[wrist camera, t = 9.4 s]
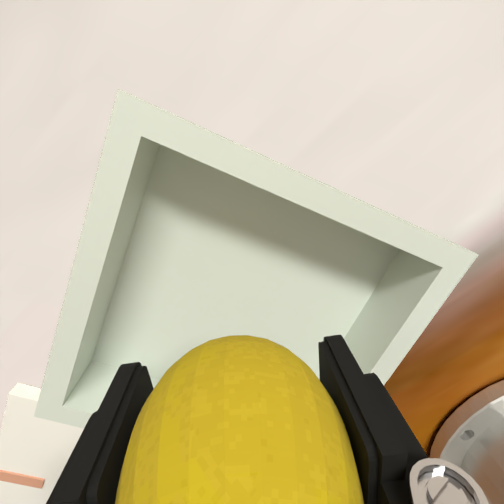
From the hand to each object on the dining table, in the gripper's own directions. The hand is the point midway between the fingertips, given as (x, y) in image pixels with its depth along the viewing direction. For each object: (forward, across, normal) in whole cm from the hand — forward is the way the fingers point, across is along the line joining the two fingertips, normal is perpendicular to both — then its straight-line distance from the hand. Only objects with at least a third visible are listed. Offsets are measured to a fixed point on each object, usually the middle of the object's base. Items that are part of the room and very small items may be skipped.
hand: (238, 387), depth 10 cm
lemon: (+2, 0, 0) cm, 2 cm away
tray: (+6, 0, 0) cm, 6 cm away
